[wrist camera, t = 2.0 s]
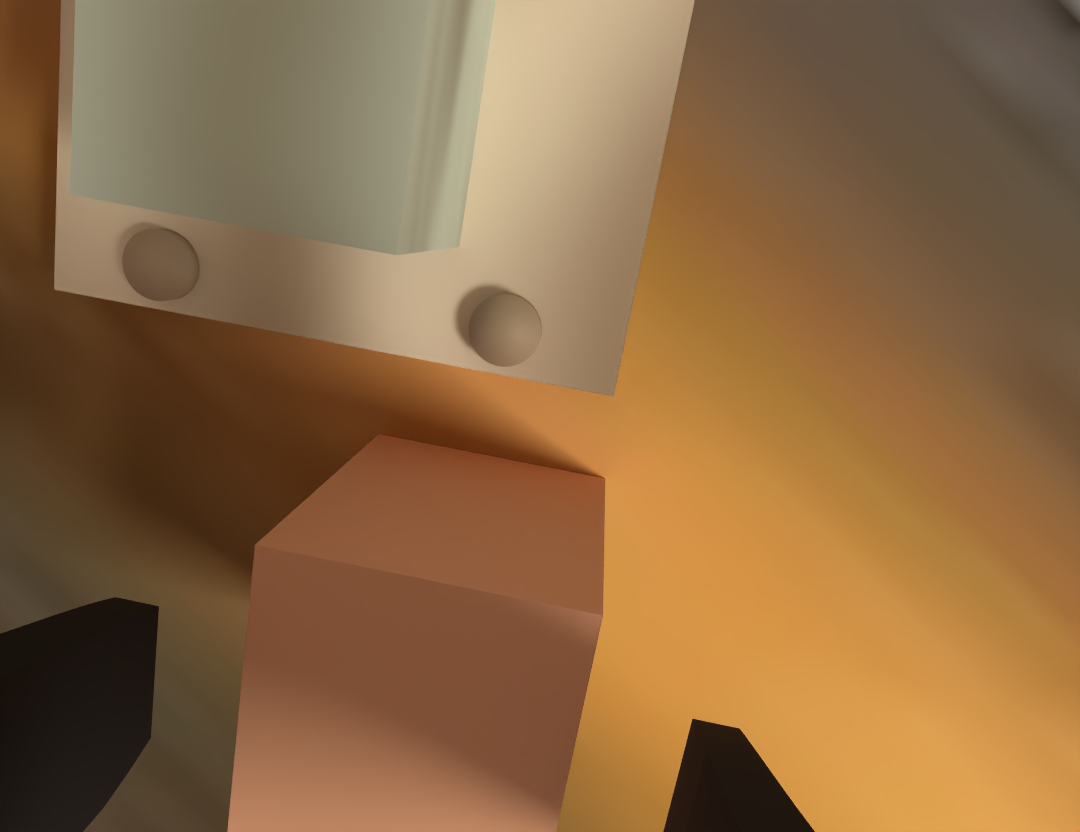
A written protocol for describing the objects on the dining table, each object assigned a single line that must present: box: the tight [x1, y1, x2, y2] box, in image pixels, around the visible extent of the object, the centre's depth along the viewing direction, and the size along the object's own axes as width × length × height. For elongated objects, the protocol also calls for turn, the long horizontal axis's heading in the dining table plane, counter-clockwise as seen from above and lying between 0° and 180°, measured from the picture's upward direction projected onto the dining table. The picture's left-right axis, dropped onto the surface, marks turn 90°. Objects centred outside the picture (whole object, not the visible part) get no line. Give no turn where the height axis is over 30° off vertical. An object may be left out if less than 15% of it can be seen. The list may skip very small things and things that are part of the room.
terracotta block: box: [228, 434, 605, 832], centre depth 13 cm, size 4×4×6 cm
